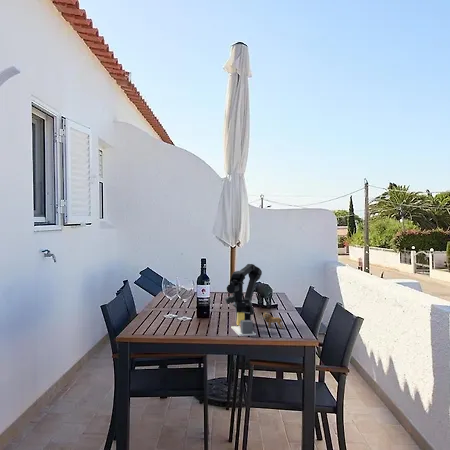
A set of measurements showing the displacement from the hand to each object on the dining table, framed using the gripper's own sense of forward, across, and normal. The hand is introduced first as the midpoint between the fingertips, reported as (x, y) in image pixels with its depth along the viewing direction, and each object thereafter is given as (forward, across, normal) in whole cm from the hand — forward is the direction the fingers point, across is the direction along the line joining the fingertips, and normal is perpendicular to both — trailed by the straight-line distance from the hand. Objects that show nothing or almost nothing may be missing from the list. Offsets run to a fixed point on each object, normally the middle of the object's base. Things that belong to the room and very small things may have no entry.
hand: (237, 316), depth 300 cm
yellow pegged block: (+4, +8, 0) cm, 8 cm away
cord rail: (+6, +14, 0) cm, 16 cm away
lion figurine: (+7, +6, +21) cm, 23 cm away
